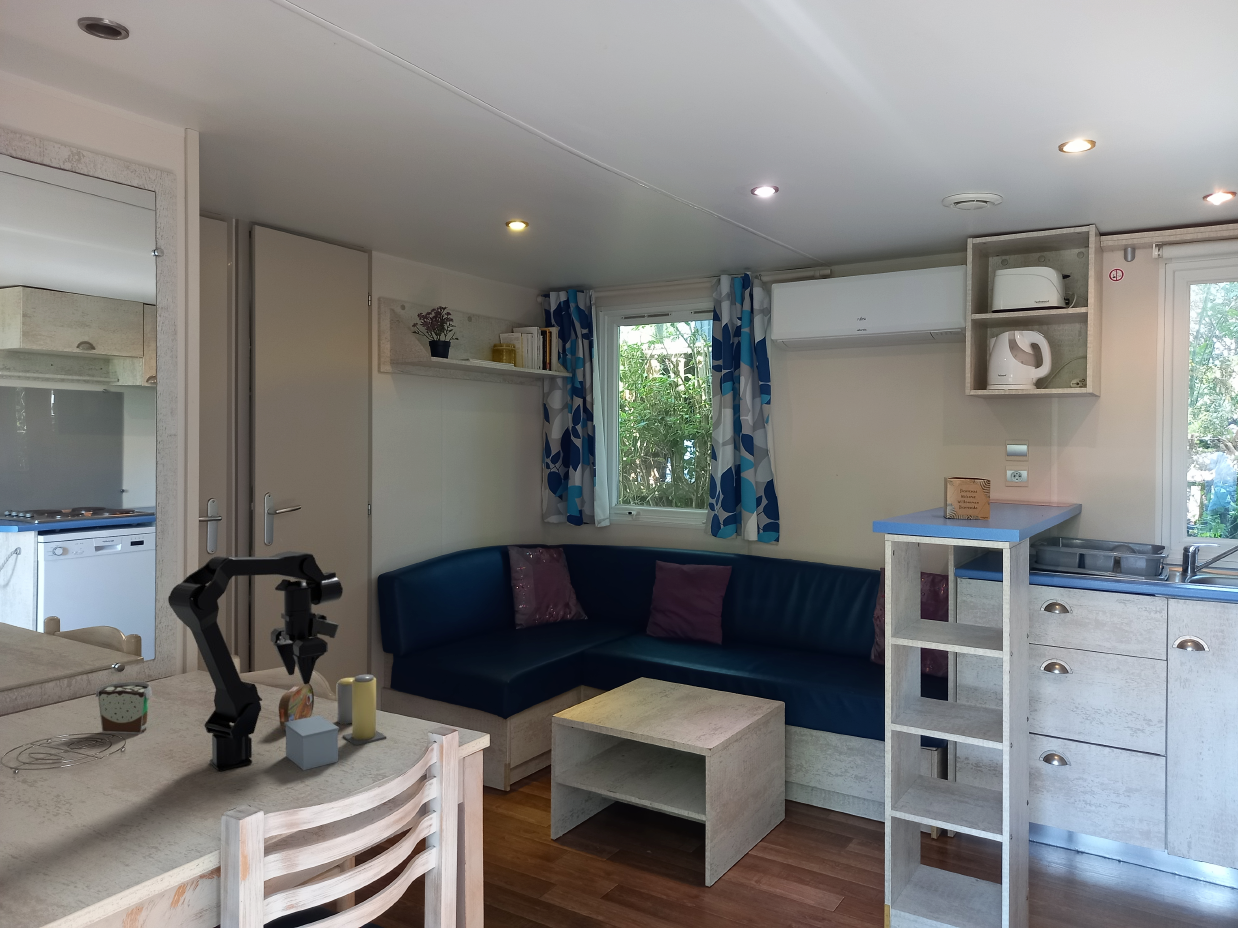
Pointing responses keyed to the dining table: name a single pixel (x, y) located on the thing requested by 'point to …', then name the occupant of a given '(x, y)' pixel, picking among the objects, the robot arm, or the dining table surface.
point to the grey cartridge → (344, 700)
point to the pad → (359, 742)
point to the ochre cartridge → (364, 707)
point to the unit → (311, 742)
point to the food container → (124, 707)
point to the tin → (296, 704)
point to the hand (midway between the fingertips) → (298, 679)
